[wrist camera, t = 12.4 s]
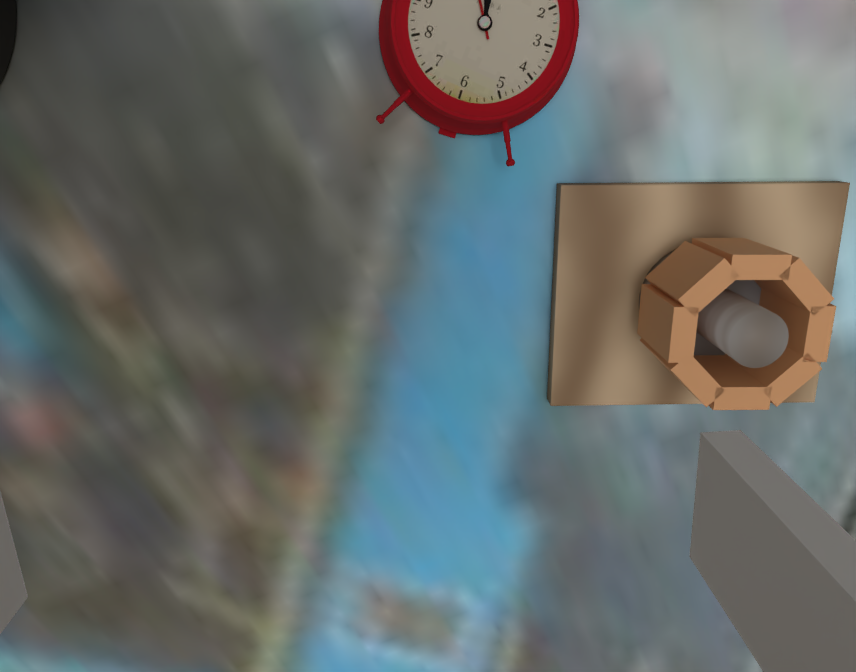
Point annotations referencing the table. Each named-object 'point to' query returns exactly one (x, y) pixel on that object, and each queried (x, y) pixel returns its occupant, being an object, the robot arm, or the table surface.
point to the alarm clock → (477, 60)
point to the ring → (780, 293)
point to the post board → (634, 243)
